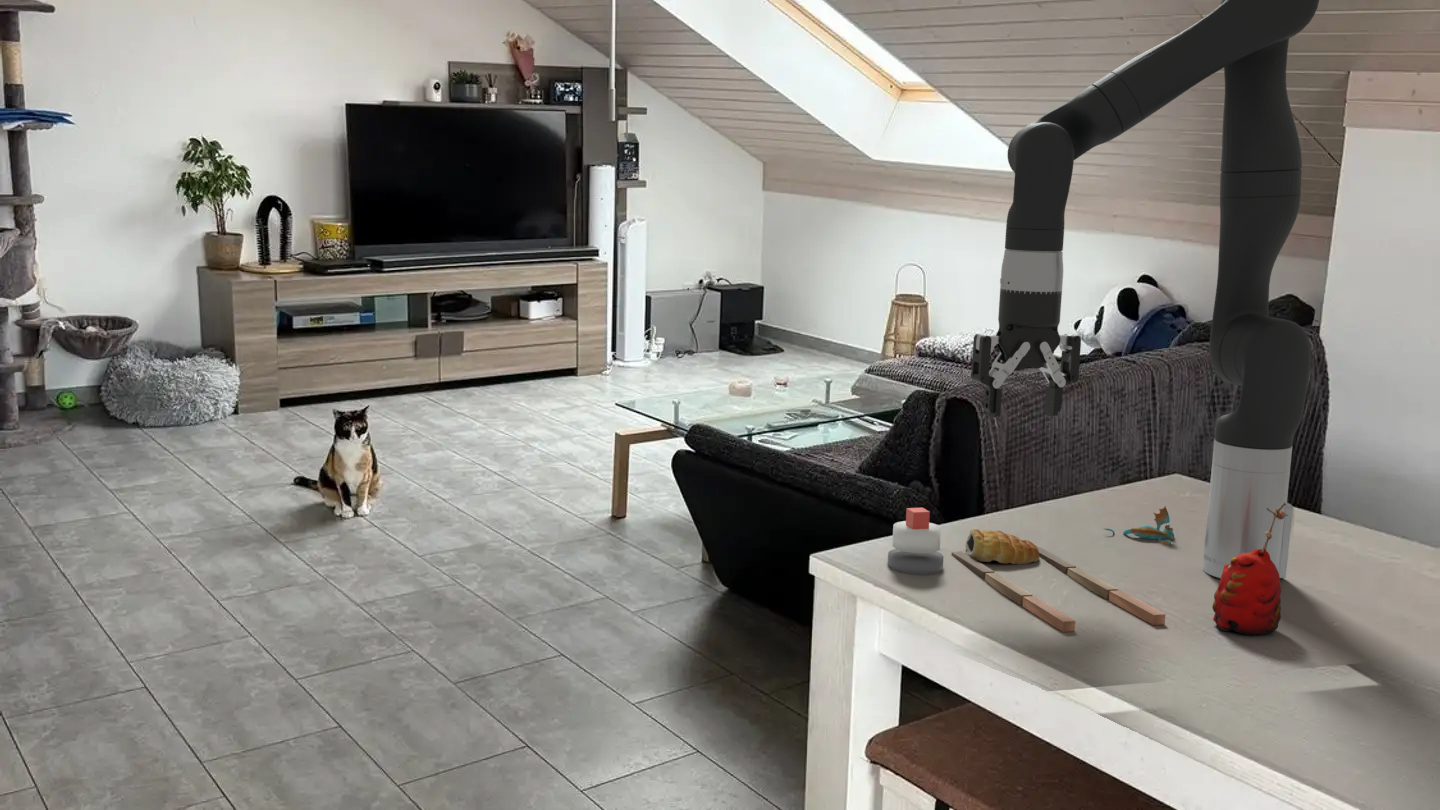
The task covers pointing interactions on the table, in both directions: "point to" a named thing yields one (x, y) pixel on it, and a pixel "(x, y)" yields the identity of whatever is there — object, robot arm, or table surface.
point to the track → (1050, 612)
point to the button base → (915, 562)
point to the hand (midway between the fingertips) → (1022, 416)
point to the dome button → (916, 533)
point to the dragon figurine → (1154, 529)
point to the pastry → (1000, 547)
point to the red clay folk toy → (1250, 591)
